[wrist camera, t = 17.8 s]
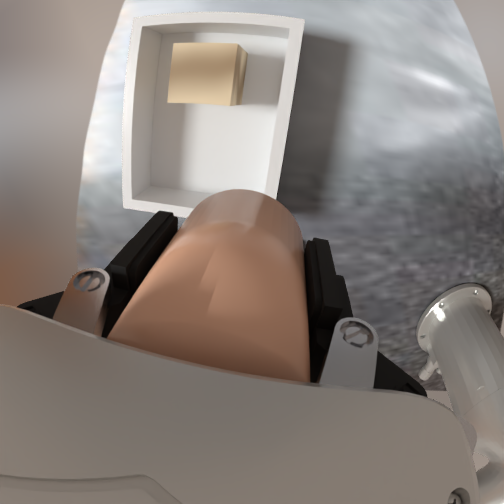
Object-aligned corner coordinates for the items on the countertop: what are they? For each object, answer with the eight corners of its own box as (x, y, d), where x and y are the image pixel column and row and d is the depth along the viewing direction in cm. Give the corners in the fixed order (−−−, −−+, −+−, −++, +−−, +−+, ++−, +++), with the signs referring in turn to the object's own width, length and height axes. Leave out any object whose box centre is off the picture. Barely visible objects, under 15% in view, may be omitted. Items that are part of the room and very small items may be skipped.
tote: (274, 210, 29) (270, 232, 25) (145, 191, 30) (123, 207, 26) (302, 33, 20) (304, 19, 16) (157, 27, 21) (133, 17, 17)
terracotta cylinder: (288, 303, 13) (282, 448, 7) (182, 283, 13) (123, 413, 7) (316, 202, 11) (344, 348, 5) (186, 180, 11) (79, 293, 5)
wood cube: (241, 104, 24) (229, 106, 20) (188, 100, 24) (167, 102, 20) (248, 53, 21) (237, 43, 17) (194, 51, 22) (173, 43, 17)
